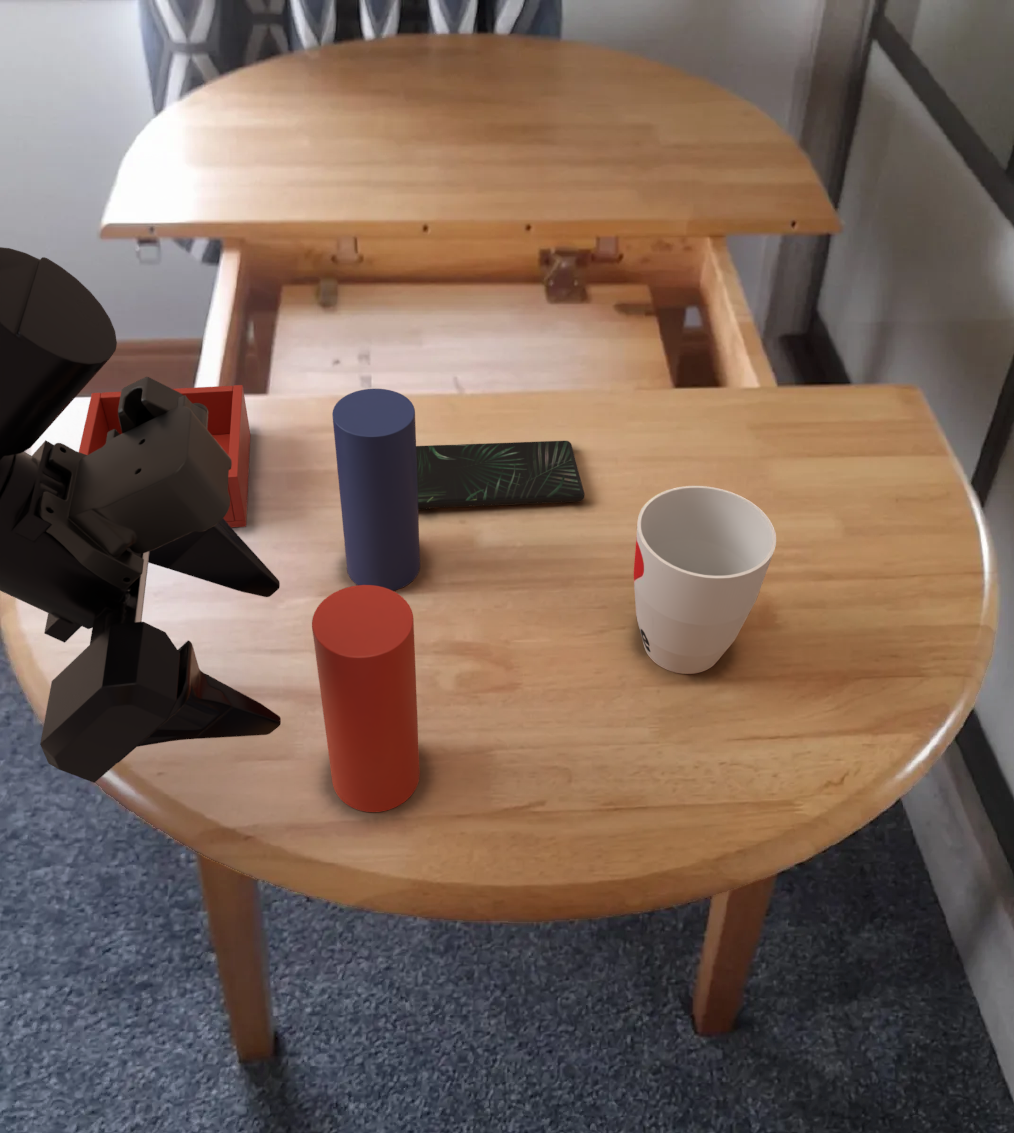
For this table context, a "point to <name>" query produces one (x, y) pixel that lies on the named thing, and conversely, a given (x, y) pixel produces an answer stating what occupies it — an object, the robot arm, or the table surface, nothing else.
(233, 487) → the red bin
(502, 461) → the smartphone
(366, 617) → the red cylinder
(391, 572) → the navy cylinder
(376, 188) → the table surface
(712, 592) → the cup
